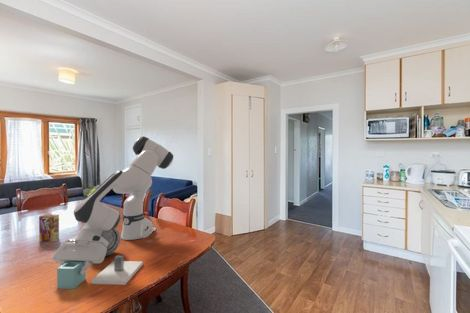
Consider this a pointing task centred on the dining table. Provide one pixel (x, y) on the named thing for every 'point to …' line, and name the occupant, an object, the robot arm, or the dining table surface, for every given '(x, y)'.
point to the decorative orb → (111, 240)
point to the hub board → (117, 273)
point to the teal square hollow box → (70, 275)
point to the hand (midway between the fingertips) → (70, 273)
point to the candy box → (48, 228)
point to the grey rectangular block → (118, 263)
